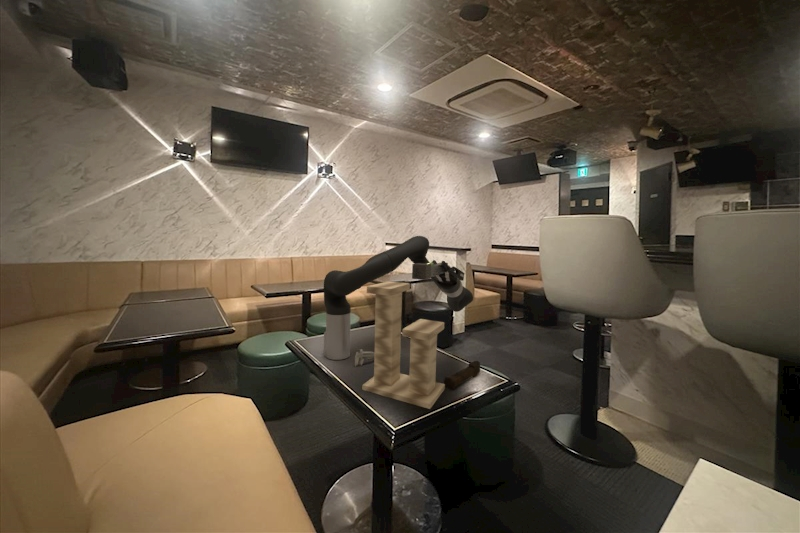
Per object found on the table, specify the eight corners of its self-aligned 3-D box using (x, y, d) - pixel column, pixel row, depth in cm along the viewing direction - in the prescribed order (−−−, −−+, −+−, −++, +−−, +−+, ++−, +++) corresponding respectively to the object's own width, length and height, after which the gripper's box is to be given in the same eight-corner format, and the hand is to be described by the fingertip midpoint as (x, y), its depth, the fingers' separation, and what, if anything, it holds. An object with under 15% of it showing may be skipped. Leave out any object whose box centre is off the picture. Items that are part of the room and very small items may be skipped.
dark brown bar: (453, 392, 94) (453, 377, 94) (443, 387, 97) (443, 373, 96) (486, 374, 107) (487, 362, 106) (476, 371, 110) (477, 358, 109)
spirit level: (412, 278, 85) (412, 264, 84) (438, 271, 104) (438, 259, 104) (425, 279, 83) (426, 265, 82) (449, 271, 102) (450, 260, 102)
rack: (362, 389, 93) (363, 285, 90) (383, 373, 105) (385, 281, 102) (429, 409, 84) (434, 293, 81) (444, 388, 95) (449, 287, 92)
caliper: (356, 367, 110) (356, 350, 109) (354, 366, 111) (354, 349, 110) (401, 355, 122) (401, 340, 122) (399, 354, 123) (399, 339, 123)
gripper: (434, 273, 116) (420, 251, 101) (471, 276, 110) (461, 253, 95) (430, 291, 113) (415, 272, 99) (468, 295, 107) (457, 275, 93)
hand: (438, 263), depth 97 cm, fingers closed on spirit level, 2 cm apart
